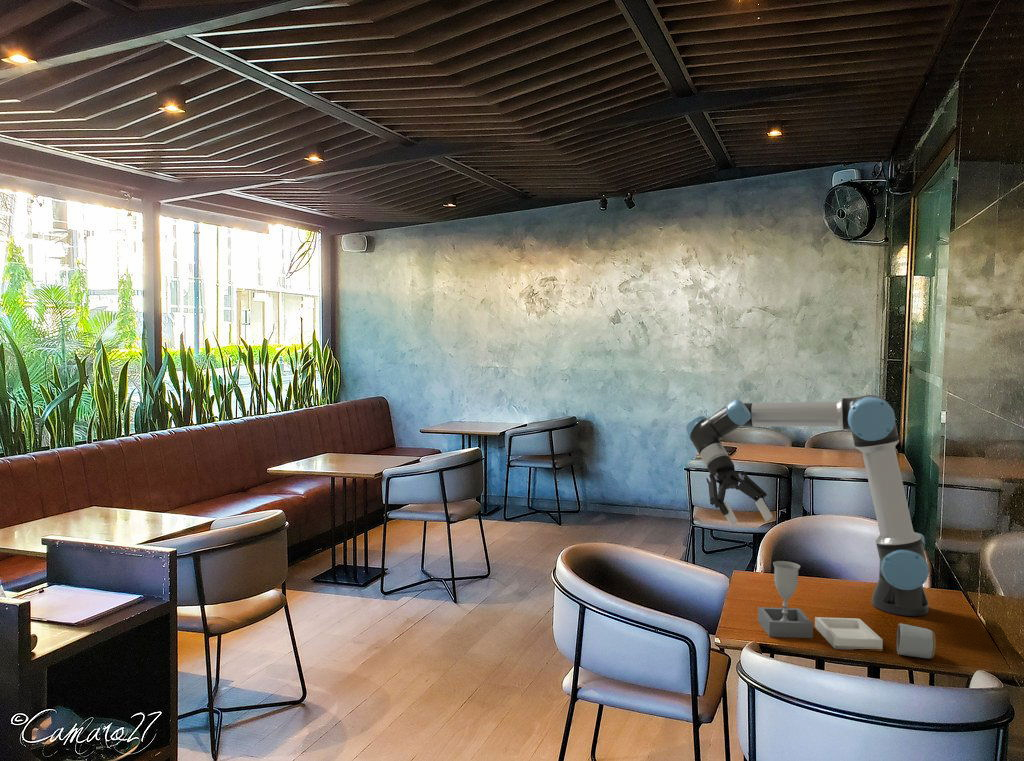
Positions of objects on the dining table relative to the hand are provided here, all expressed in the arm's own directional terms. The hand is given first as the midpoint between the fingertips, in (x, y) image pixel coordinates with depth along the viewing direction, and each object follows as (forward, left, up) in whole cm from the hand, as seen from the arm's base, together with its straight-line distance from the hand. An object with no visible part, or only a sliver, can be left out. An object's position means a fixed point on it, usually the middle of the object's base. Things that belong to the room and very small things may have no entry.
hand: (752, 521), depth 218 cm
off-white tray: (-22, +16, -27) cm, 38 cm away
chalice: (-7, +11, -27) cm, 30 cm away
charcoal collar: (-7, +11, -27) cm, 30 cm away
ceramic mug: (-35, +24, -28) cm, 51 cm away
